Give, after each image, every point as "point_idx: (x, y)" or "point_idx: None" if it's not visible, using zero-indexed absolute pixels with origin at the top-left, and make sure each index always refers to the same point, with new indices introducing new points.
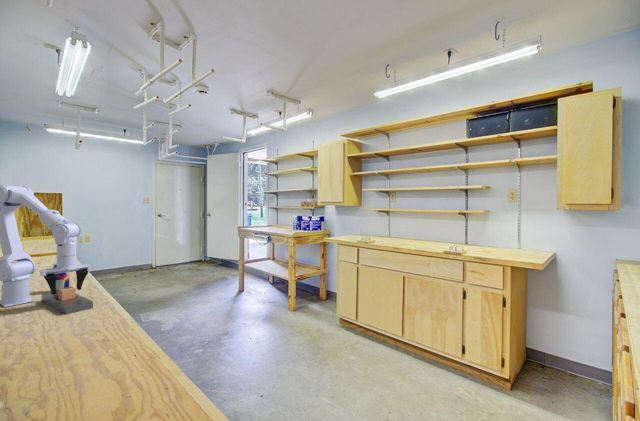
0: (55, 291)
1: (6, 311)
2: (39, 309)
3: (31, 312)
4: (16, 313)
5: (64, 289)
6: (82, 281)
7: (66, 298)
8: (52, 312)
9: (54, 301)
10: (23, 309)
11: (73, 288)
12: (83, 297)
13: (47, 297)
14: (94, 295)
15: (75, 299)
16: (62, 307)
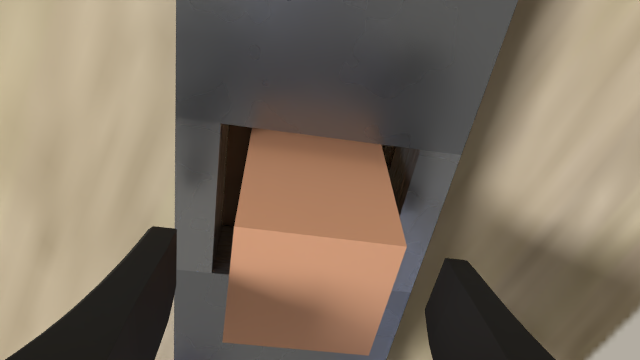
0: (463, 281)
1: (596, 345)
2: (497, 222)
3: (578, 195)
4: (622, 259)
5: (343, 290)
6: (93, 304)
7: (343, 168)
8: (532, 27)
9: (446, 193)
10: (532, 309)
11: (251, 247)
12: (185, 65)
13: (387, 351)
14: (7, 238)
15: (290, 65)
16: None
